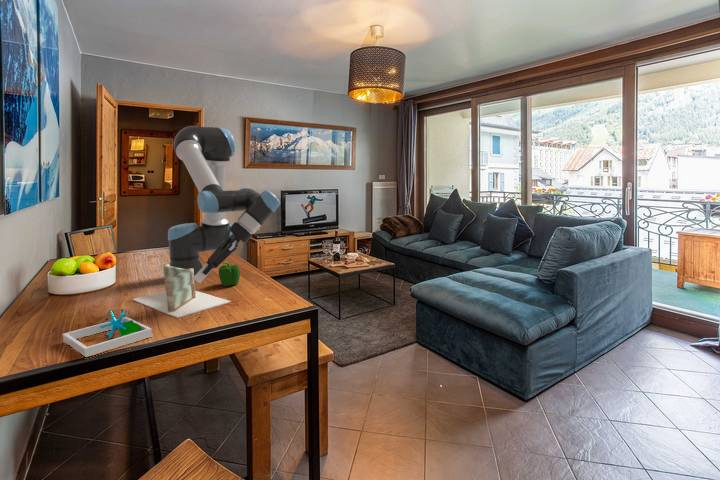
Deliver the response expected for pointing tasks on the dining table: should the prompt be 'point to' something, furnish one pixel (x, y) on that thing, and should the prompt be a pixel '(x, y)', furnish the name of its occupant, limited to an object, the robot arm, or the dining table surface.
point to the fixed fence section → (174, 271)
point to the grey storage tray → (97, 348)
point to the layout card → (187, 308)
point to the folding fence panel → (178, 290)
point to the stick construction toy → (122, 325)
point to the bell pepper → (229, 274)
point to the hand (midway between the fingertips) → (196, 280)
